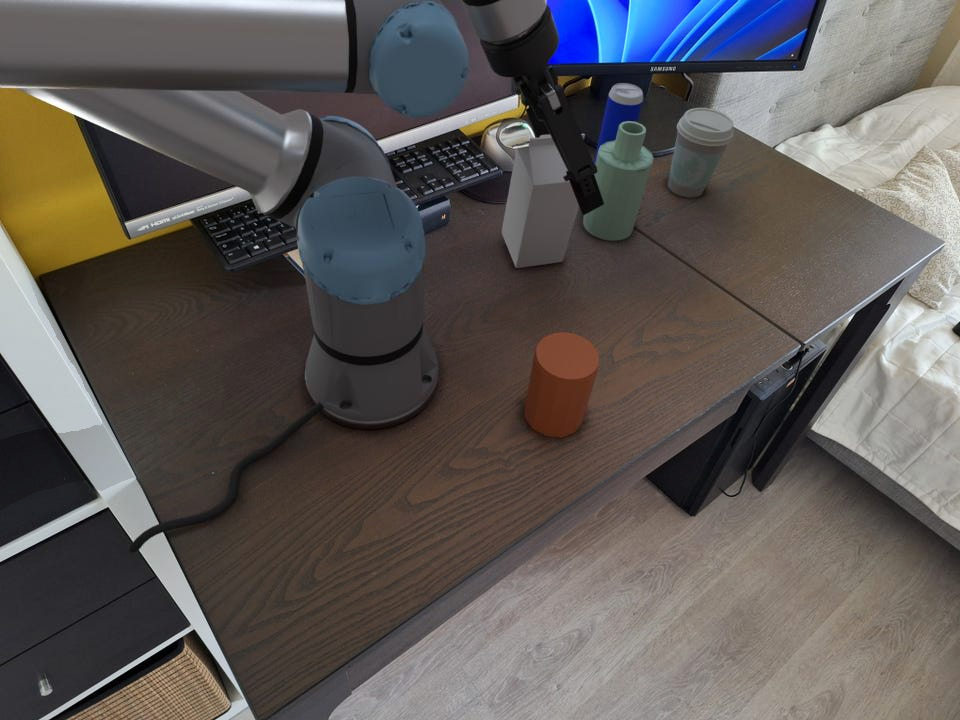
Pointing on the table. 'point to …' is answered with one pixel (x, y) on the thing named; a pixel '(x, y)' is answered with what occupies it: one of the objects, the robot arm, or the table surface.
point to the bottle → (620, 183)
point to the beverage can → (619, 110)
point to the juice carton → (539, 205)
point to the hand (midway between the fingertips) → (571, 175)
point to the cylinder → (560, 384)
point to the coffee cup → (698, 150)
